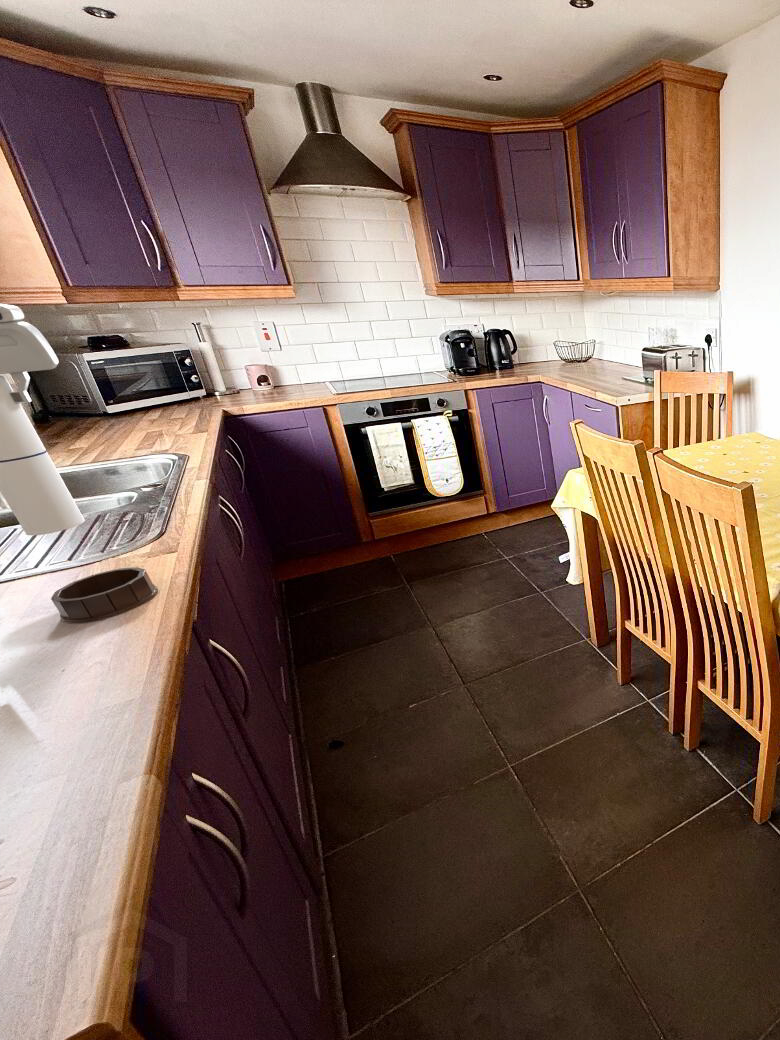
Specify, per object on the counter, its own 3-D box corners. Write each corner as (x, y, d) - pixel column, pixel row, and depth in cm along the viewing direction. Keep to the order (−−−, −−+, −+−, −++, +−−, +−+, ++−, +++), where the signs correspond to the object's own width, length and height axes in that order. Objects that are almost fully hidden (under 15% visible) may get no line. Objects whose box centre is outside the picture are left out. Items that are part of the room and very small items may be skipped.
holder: (53, 632, 94) (39, 610, 92) (70, 602, 103) (58, 582, 101) (154, 605, 100) (142, 584, 99) (161, 579, 110) (151, 559, 108)
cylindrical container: (32, 538, 96) (-61, 383, 85) (20, 530, 99) (-71, 381, 88) (90, 522, 101) (9, 375, 90) (77, 516, 105) (-2, 373, 94)
